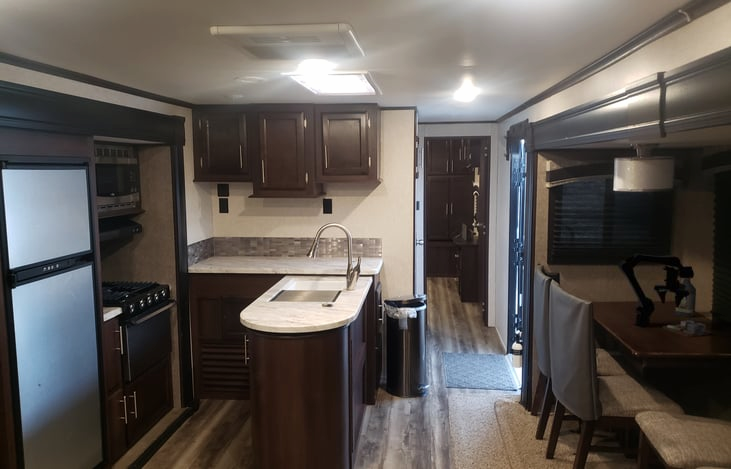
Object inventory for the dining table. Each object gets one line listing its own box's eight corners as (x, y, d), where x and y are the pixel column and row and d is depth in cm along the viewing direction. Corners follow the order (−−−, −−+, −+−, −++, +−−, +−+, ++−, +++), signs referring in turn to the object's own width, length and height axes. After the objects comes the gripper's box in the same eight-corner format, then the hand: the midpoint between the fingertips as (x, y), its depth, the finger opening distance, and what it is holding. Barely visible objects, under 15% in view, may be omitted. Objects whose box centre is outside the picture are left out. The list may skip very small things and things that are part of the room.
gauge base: (687, 337, 278) (688, 326, 278) (662, 328, 294) (663, 319, 293) (708, 334, 282) (708, 324, 282) (682, 326, 298) (682, 317, 297)
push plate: (680, 330, 284) (680, 323, 284) (675, 328, 287) (675, 321, 287) (693, 328, 287) (694, 321, 287) (689, 327, 290) (689, 320, 290)
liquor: (678, 312, 329) (681, 265, 326) (695, 315, 322) (698, 266, 319) (674, 315, 322) (676, 266, 319) (691, 318, 316) (694, 268, 313)
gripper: (697, 280, 290) (696, 308, 291) (669, 274, 307) (667, 300, 309) (681, 281, 286) (680, 309, 288) (653, 275, 304) (652, 302, 306)
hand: (670, 305), depth 298 cm, fingers open, 9 cm apart
